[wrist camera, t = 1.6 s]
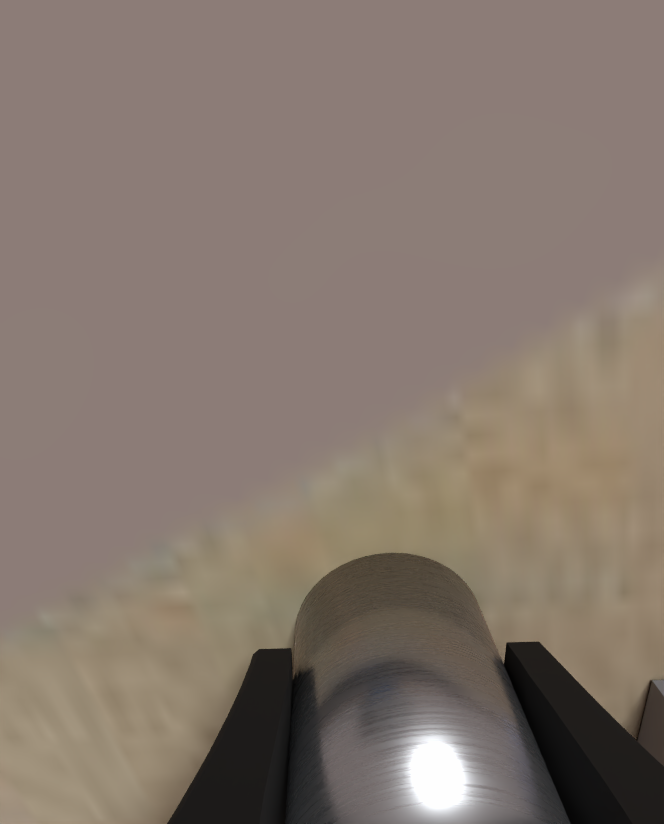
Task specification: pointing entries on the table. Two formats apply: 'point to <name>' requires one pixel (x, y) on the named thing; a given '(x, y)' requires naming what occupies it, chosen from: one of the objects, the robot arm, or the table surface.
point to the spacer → (407, 706)
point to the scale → (654, 722)
